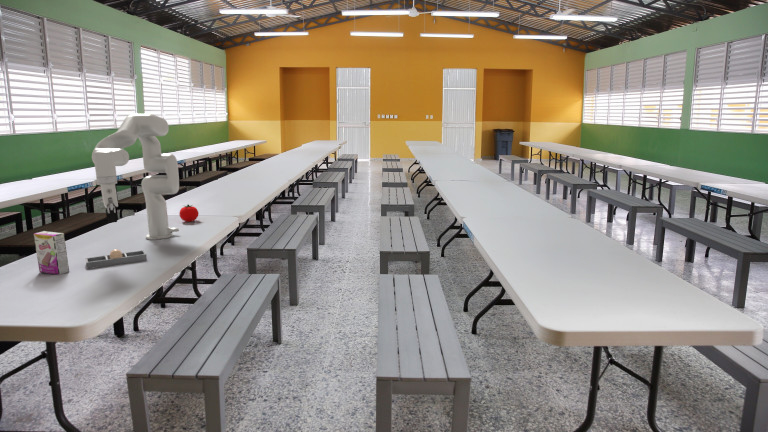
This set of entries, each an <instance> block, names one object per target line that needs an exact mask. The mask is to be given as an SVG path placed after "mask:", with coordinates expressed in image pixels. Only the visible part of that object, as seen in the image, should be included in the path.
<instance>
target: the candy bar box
mask: <svg viewBox="0 0 768 432" xmlns="http://www.w3.org/2000/svg"><path fill="white" fill-rule="evenodd" d="M33 240H34V246H35V251H36V252H35V253H36V257H37V263H38V271H39V273H43V274H51V275H58V276H60V275H63V274H67V273H69V272H70V268H69V267H70V266H69V261H68V251H67V245H66V239H65V233H64V232H55V231H54V232H53V231H46V230H43V231H39V232H35V233H33Z"/></svg>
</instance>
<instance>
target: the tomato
mask: <svg viewBox="0 0 768 432" xmlns="http://www.w3.org/2000/svg"><path fill="white" fill-rule="evenodd" d="M182 206H183V207H181V208H180V210H179V214H178V215H179V217H180V219H181V220H182V221H184V222H186V223H189V222H190V223H191V221H192V222H194V221H196V219H198V217H199V210H198V209H197V207H195V206H193V204H191V205H190V204H186V205H182Z"/></svg>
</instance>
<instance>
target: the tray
mask: <svg viewBox="0 0 768 432" xmlns="http://www.w3.org/2000/svg"><path fill="white" fill-rule="evenodd" d="M147 260H148V259H147V253H146V251H145V250H144V249H143V250H135V251H127V252H122V257H121V258H114V259H110V254H107V255H99V256H91V257H86V258H85V264H86V269H87V270H88V269H94V268H103V267H108V266H115V265H123V264H128V263H135V262H143V261H147Z"/></svg>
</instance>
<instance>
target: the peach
mask: <svg viewBox="0 0 768 432" xmlns="http://www.w3.org/2000/svg"><path fill="white" fill-rule="evenodd" d="M122 253H123V252H122V251H121V250H120V249H118V248H117V249H116V248H115V249H112V250H111V251H110V253H109V255H110V259H114V258H121V257H122Z"/></svg>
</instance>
